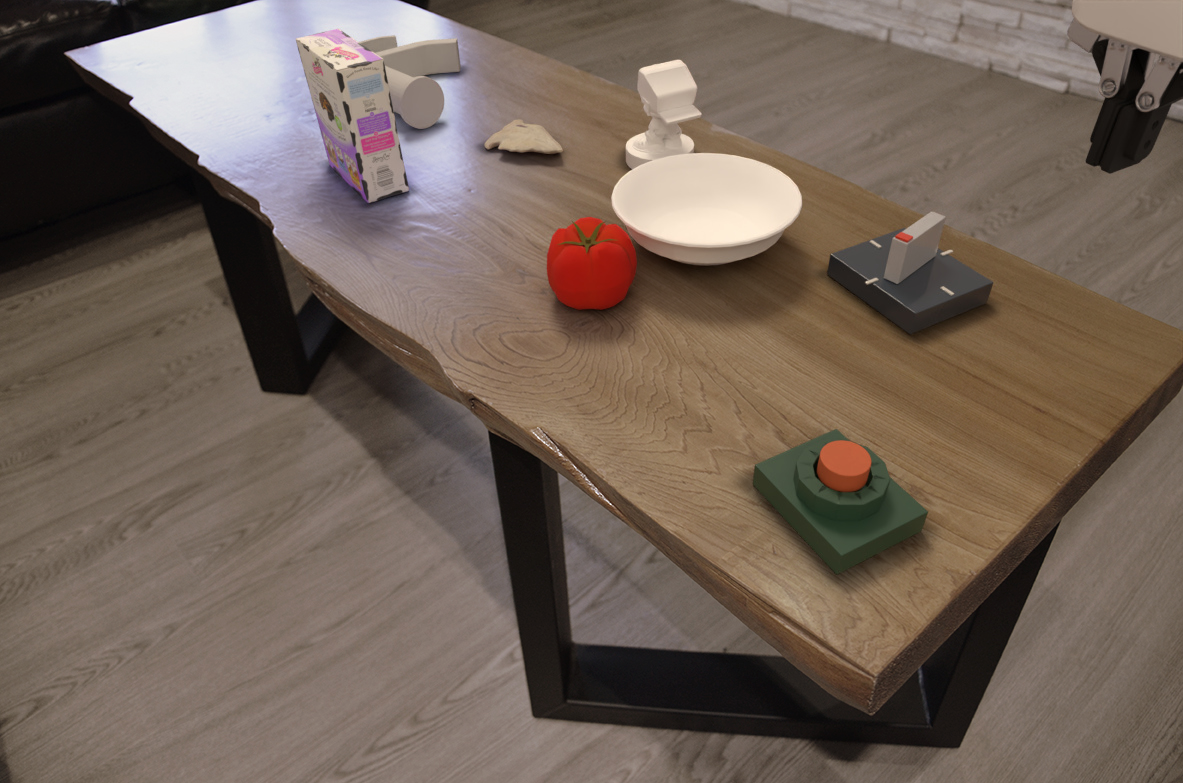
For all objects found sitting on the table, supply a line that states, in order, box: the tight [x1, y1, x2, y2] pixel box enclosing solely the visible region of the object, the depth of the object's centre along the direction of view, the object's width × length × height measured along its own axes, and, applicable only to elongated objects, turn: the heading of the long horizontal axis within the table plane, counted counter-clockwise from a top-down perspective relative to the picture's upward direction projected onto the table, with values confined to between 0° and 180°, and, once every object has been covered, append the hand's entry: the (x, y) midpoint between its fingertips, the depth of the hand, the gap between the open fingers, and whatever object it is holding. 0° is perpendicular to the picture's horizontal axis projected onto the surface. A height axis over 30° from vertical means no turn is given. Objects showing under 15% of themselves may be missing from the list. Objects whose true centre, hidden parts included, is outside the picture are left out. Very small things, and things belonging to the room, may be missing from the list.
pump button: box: [817, 440, 871, 492], centre depth 61 cm, size 4×4×2 cm
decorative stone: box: [484, 119, 564, 155], centre depth 111 cm, size 8×12×3 cm
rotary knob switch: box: [826, 227, 994, 335], centre depth 85 cm, size 12×11×3 cm
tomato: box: [546, 216, 638, 311], centre depth 84 cm, size 9×9×8 cm
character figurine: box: [625, 59, 703, 170], centre depth 104 cm, size 9×10×12 cm
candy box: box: [295, 28, 410, 204], centre depth 103 cm, size 14×6×16 cm, turn 34°
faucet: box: [358, 34, 462, 130], centre depth 127 cm, size 20×7×25 cm
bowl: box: [610, 152, 803, 266], centre depth 91 cm, size 20×20×6 cm
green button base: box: [751, 428, 929, 575], centre depth 63 cm, size 10×8×4 cm
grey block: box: [884, 210, 947, 284], centre depth 82 cm, size 7×2×5 cm, turn 133°
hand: (1113, 162), depth 51 cm, fingers closed
